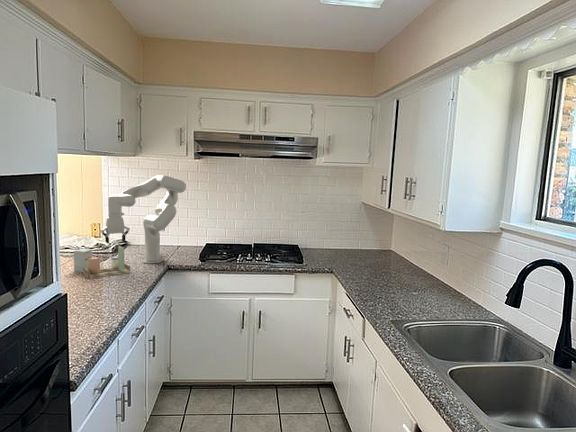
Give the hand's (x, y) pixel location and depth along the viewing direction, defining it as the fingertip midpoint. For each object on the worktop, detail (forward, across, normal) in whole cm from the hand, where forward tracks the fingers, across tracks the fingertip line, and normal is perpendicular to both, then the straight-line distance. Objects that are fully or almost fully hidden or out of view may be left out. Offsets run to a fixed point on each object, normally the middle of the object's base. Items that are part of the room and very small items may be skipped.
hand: (115, 242), depth 254 cm
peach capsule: (+16, +16, +10) cm, 25 cm away
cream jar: (+16, 0, 0) cm, 16 cm away
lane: (+16, +8, +10) cm, 21 cm away
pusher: (+16, -1, +10) cm, 19 cm away
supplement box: (+16, +18, -4) cm, 25 cm away
